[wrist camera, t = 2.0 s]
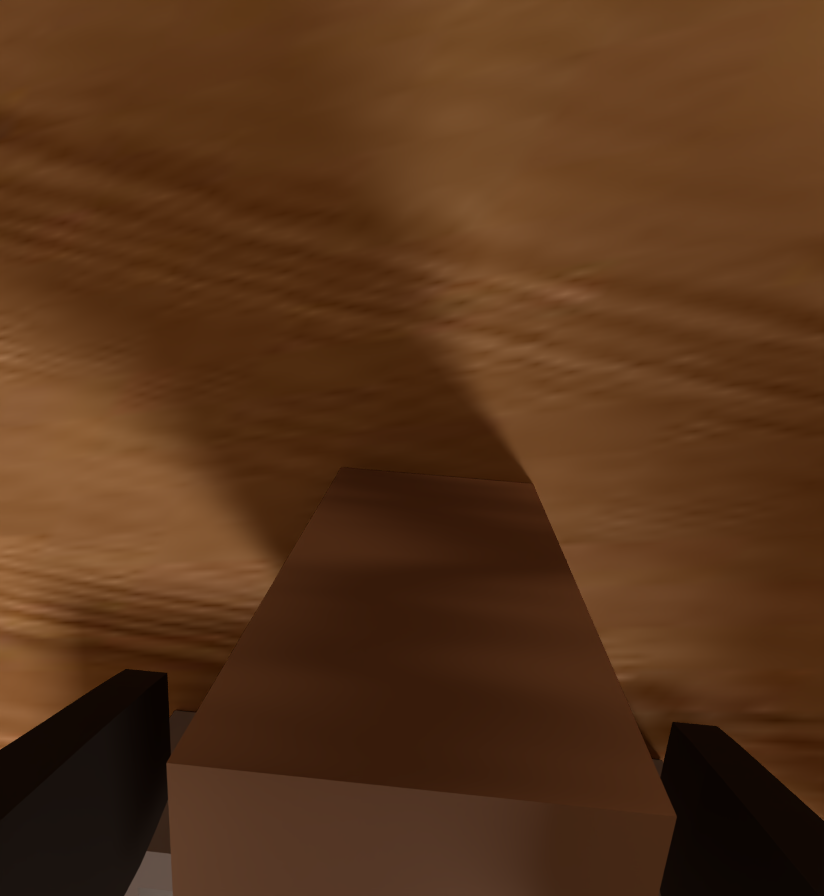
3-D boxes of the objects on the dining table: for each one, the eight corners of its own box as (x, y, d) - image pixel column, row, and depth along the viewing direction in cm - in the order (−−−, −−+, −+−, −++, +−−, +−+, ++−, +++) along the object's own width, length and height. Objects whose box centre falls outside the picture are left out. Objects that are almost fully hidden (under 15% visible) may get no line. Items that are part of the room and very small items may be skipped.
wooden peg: (532, 483, 14) (677, 817, 5) (510, 652, 15) (597, 1153, 6) (341, 467, 14) (166, 762, 5) (334, 634, 15) (183, 1101, 6)
